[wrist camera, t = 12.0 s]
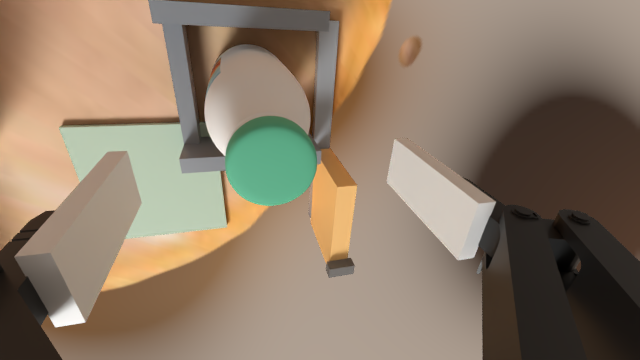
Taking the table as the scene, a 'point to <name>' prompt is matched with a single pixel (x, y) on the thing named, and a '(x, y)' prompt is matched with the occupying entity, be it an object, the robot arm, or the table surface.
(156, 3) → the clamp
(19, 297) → the robot arm
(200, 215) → the mat
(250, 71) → the milk bottle
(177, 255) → the table surface
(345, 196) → the tan wooden slab
